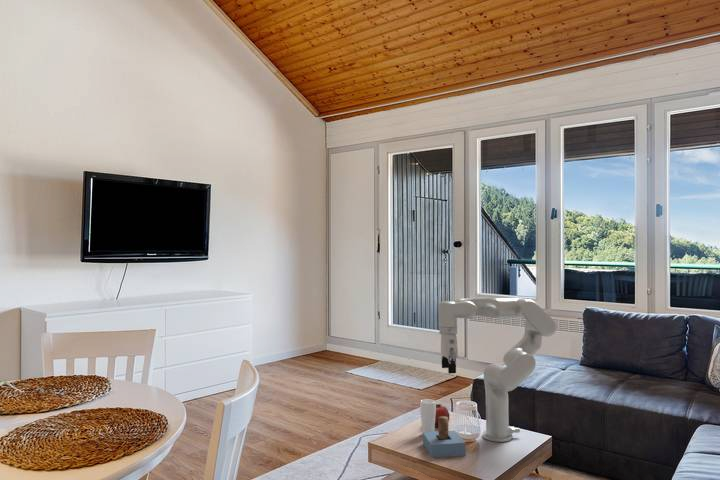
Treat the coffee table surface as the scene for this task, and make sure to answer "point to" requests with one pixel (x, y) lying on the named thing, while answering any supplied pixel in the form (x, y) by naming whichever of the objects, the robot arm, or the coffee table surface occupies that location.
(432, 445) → the socket block
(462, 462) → the coffee table surface
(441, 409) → the fruit
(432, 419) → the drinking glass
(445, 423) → the walnut pin
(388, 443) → the coffee table surface
